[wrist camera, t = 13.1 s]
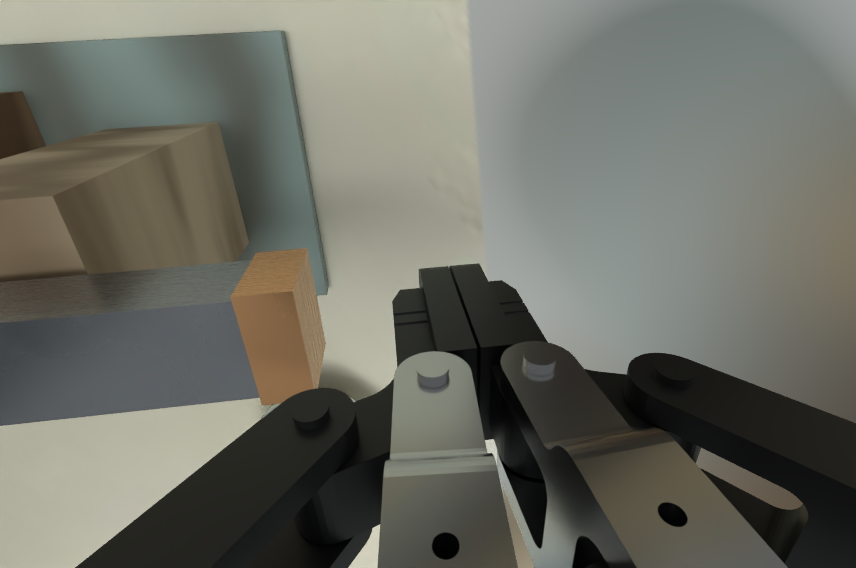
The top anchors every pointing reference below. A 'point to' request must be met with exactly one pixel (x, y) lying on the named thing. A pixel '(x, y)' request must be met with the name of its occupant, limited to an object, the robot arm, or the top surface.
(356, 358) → the top surface
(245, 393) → the bar
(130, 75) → the socket board
